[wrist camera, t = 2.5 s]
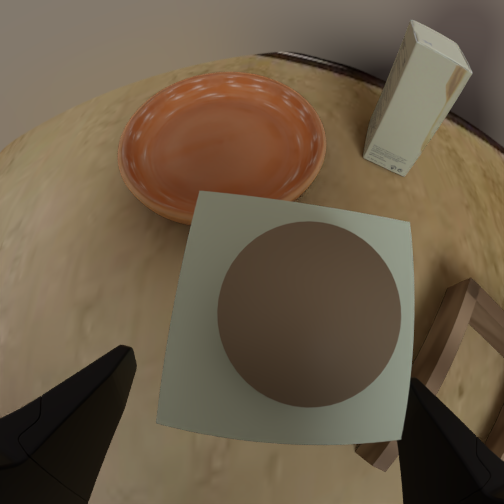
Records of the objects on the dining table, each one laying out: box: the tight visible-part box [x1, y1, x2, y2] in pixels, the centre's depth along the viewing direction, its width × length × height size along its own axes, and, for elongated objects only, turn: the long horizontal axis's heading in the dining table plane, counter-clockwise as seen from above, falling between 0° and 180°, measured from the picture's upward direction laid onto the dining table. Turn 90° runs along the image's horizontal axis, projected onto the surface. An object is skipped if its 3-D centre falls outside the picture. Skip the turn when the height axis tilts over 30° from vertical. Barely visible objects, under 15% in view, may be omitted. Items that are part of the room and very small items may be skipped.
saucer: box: [118, 72, 326, 225], centre depth 21 cm, size 16×16×3 cm
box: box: [355, 278, 504, 472], centre depth 14 cm, size 14×14×3 cm
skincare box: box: [363, 20, 472, 176], centre depth 17 cm, size 6×4×12 cm
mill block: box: [156, 191, 414, 445], centre depth 11 cm, size 5×5×14 cm
